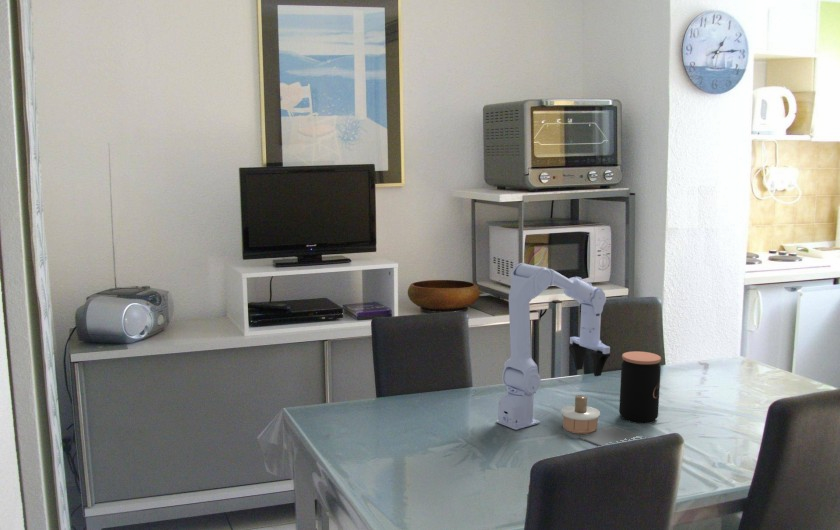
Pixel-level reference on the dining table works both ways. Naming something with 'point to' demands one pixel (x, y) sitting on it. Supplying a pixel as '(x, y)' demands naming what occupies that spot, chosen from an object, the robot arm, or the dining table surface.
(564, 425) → the bowl
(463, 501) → the dining table surface
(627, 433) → the mat
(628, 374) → the coffee jar
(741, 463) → the dining table surface
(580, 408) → the lid
